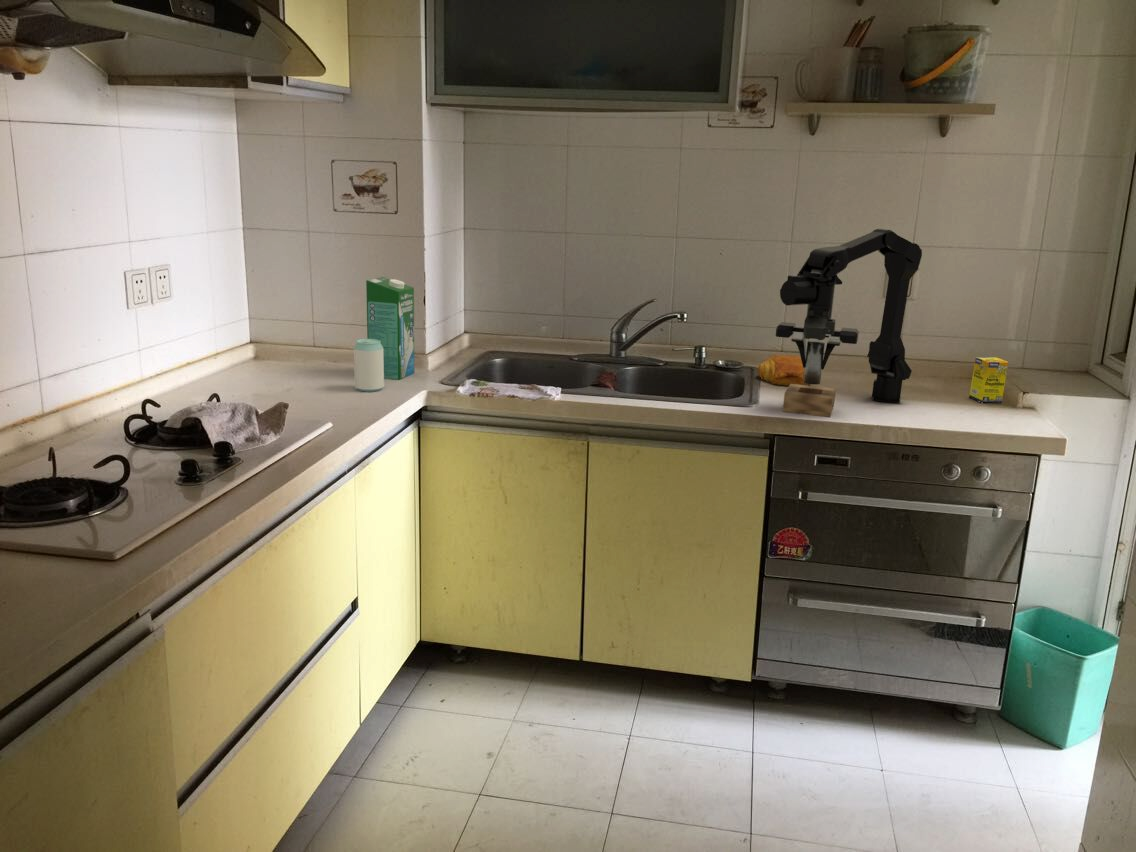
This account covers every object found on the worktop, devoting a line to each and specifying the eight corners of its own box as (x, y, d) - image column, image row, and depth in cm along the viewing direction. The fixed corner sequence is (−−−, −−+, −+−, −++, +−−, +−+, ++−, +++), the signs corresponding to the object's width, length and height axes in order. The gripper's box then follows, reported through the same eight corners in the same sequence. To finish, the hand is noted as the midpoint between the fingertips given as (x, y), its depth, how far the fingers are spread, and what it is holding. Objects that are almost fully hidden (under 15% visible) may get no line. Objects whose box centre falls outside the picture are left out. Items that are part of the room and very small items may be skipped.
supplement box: (981, 403, 245) (988, 361, 242) (968, 397, 250) (974, 356, 247) (1002, 403, 246) (1009, 361, 243) (989, 397, 251) (995, 356, 248)
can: (379, 393, 232) (379, 344, 229) (351, 391, 232) (350, 342, 229) (387, 386, 239) (386, 338, 235) (359, 384, 239) (358, 337, 236)
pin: (821, 381, 232) (825, 341, 229) (819, 385, 228) (824, 343, 226) (804, 379, 233) (808, 339, 230) (802, 383, 230) (806, 342, 227)
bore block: (833, 406, 236) (835, 388, 235) (829, 417, 226) (832, 398, 225) (788, 401, 239) (790, 383, 238) (782, 411, 229) (784, 393, 228)
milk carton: (399, 380, 246) (398, 282, 239) (367, 376, 248) (365, 279, 241) (414, 372, 254) (414, 278, 247) (383, 369, 256) (382, 276, 249)
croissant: (757, 381, 270) (756, 353, 268) (814, 377, 267) (813, 349, 265) (759, 391, 256) (757, 362, 254) (819, 388, 253) (817, 358, 252)
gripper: (775, 304, 221) (769, 370, 225) (859, 311, 215) (851, 379, 220) (782, 298, 231) (775, 361, 236) (862, 305, 225) (854, 369, 230)
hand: (813, 368), depth 230 cm, fingers closed on pin, 4 cm apart
